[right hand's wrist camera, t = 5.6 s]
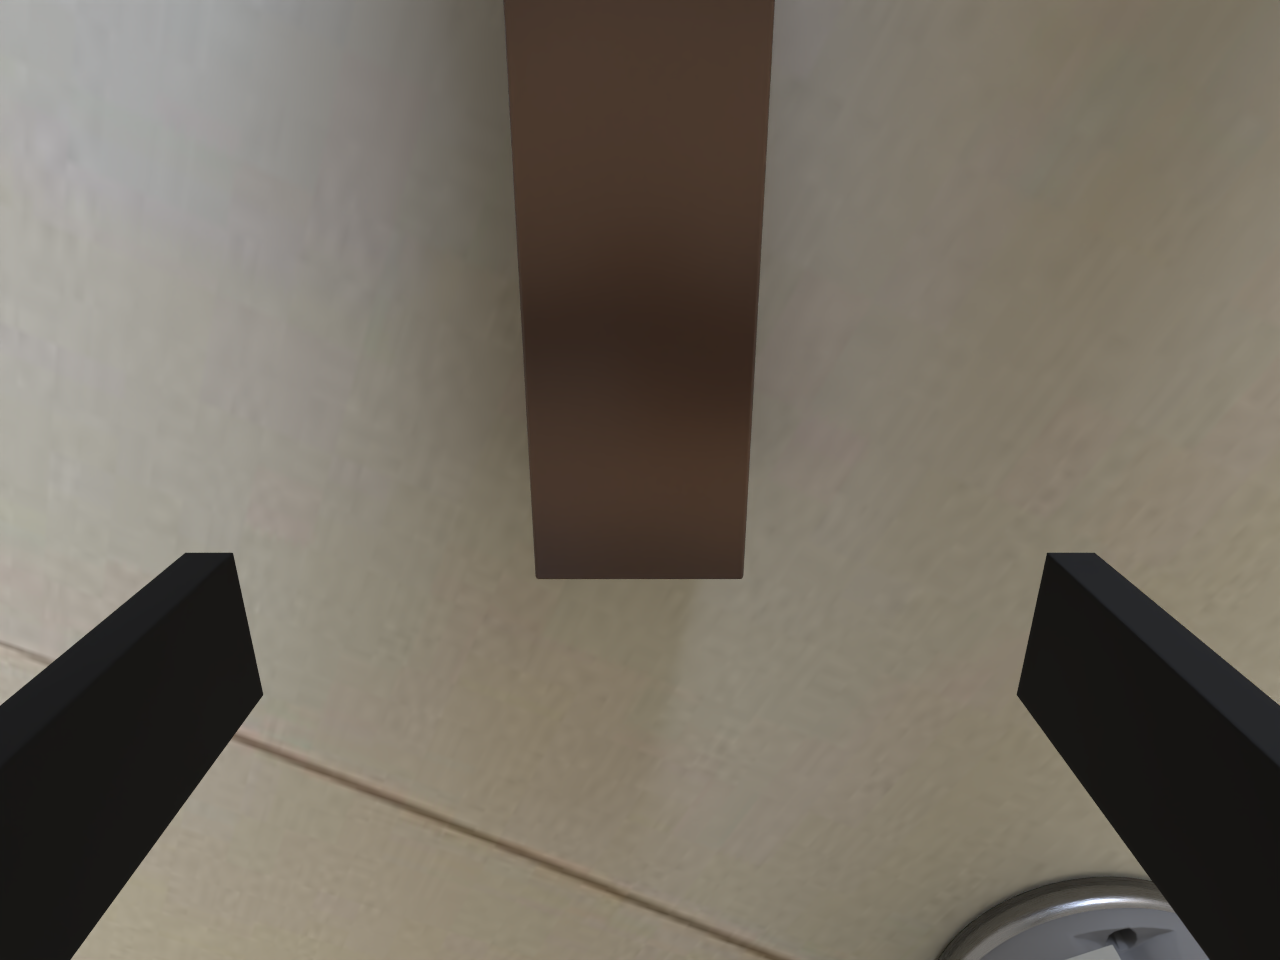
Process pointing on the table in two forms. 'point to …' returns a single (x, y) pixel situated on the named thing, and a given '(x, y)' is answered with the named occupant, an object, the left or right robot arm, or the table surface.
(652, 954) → the table surface
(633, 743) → the table surface
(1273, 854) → the right robot arm
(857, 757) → the table surface
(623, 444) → the beam
